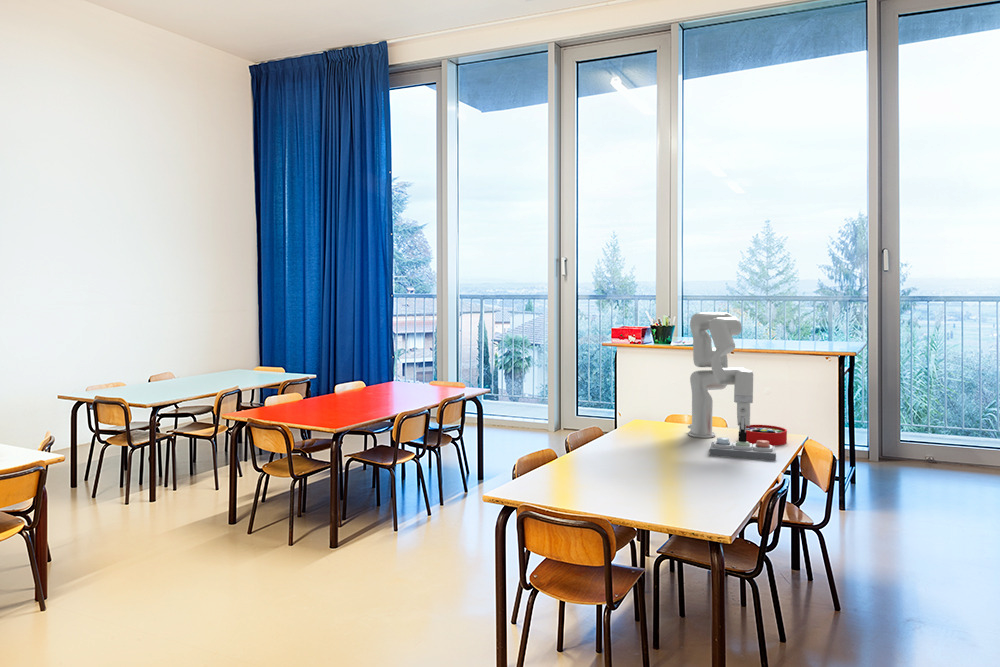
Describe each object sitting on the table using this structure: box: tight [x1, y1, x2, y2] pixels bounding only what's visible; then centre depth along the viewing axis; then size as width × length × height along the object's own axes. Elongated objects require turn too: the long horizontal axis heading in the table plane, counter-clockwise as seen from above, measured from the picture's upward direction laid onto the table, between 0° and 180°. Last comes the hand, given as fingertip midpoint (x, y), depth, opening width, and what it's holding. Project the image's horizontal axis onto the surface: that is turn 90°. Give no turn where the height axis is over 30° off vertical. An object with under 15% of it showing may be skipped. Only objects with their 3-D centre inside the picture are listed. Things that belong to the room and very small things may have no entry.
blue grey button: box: [716, 437, 730, 445], centre depth 293 cm, size 5×5×2 cm
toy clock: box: [746, 424, 788, 447], centre depth 316 cm, size 20×6×20 cm
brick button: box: [756, 440, 769, 447], centre depth 287 cm, size 5×5×2 cm
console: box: [709, 440, 777, 462], centre depth 290 cm, size 26×14×4 cm, turn 69°
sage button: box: [736, 440, 749, 447], centre depth 290 cm, size 5×5×2 cm
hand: (742, 441), depth 290 cm, fingers closed
